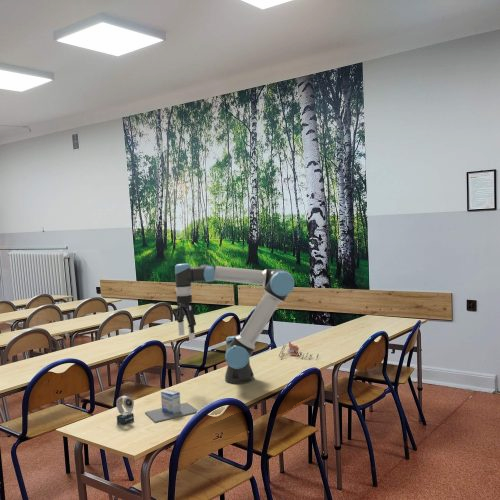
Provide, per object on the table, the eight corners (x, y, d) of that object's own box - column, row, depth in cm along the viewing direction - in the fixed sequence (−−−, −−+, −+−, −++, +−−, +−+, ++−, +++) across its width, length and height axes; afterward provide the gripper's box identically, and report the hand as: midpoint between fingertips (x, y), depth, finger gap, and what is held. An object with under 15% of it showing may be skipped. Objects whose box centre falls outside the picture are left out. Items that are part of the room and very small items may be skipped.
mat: (186, 403, 243) (186, 402, 243) (199, 412, 231) (198, 411, 231) (144, 413, 234) (144, 412, 234) (155, 422, 221) (155, 421, 221)
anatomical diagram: (284, 340, 329) (322, 340, 319) (287, 352, 333) (325, 352, 322) (274, 361, 312) (314, 361, 302) (277, 373, 316) (317, 374, 305)
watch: (127, 425, 220) (125, 399, 219) (114, 422, 224) (112, 397, 224) (137, 421, 224) (135, 395, 224) (124, 418, 229) (122, 393, 228)
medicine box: (161, 411, 234) (160, 391, 233) (169, 408, 237) (168, 389, 237) (173, 414, 228) (172, 394, 228) (181, 411, 232) (180, 391, 232)
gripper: (168, 293, 270) (170, 334, 271) (186, 298, 248) (189, 342, 249) (181, 291, 274) (184, 332, 275) (201, 296, 252) (203, 340, 253)
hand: (186, 337), depth 262 cm, fingers open, 13 cm apart
